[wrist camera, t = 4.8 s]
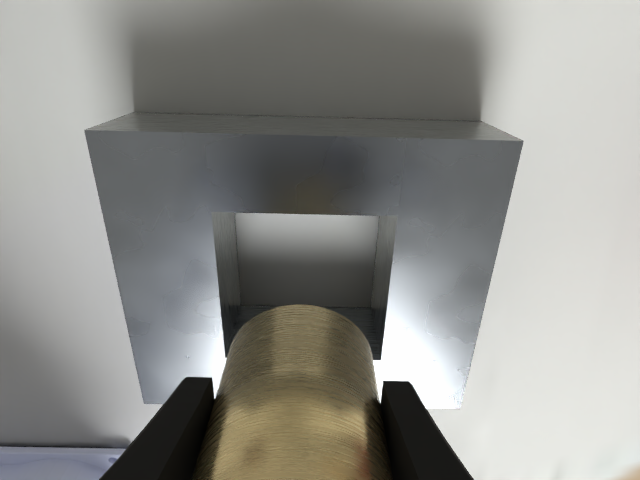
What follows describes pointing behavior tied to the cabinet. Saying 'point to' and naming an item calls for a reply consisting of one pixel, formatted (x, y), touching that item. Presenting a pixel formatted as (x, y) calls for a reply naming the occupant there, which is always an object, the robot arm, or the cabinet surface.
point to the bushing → (296, 403)
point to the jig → (303, 198)
